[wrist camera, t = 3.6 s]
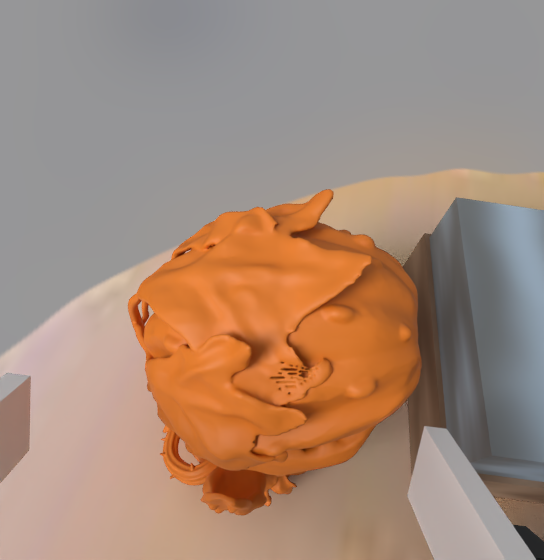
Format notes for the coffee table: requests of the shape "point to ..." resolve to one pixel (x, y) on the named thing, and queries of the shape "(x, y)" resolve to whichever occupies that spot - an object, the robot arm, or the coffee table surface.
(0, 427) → the robot arm
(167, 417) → the orange figurine
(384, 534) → the coffee table surface
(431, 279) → the grey square block
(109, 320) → the coffee table surface
